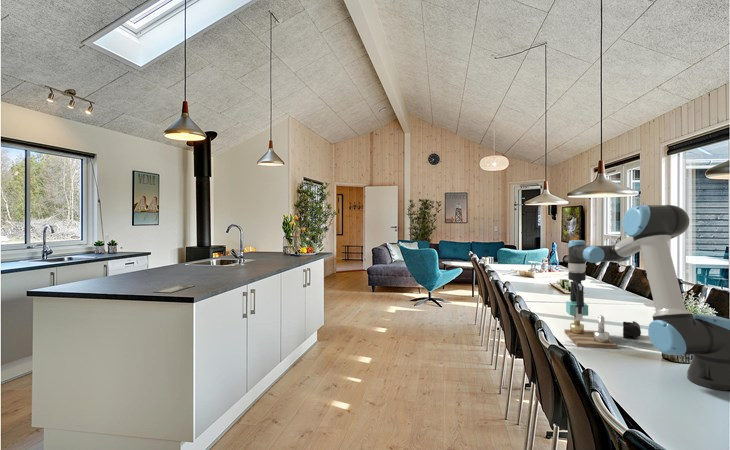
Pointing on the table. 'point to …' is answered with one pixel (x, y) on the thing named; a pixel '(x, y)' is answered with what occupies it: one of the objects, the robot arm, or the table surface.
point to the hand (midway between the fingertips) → (576, 318)
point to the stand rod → (601, 332)
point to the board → (588, 340)
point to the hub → (576, 327)
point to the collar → (572, 309)
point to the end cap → (631, 330)
